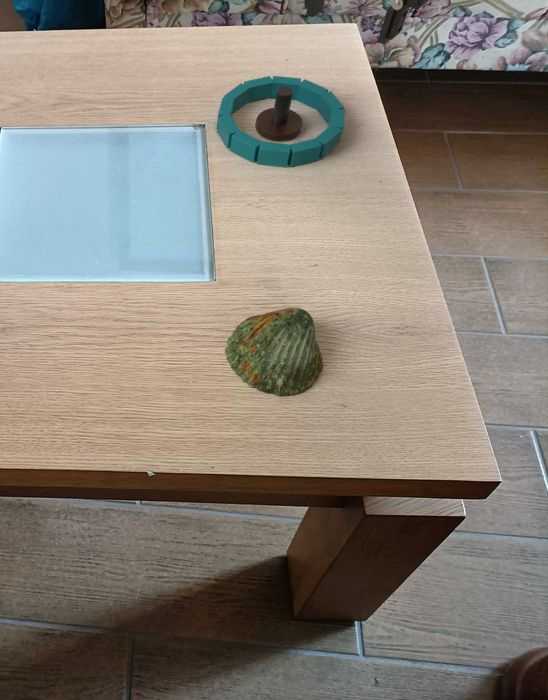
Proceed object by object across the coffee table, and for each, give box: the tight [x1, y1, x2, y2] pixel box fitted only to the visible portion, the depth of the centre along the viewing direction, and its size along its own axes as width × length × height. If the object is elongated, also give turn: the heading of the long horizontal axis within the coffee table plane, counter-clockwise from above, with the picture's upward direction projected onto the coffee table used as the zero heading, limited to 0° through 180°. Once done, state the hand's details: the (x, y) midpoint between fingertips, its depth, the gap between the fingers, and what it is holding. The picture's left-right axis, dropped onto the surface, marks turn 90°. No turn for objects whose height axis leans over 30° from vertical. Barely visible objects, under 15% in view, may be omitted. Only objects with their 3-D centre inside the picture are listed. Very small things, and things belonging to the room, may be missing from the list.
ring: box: [216, 75, 346, 168], centre depth 90 cm, size 16×16×2 cm
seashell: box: [224, 307, 324, 397], centre depth 68 cm, size 10×4×10 cm
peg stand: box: [255, 87, 303, 142], centre depth 88 cm, size 6×6×6 cm
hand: (348, 26), depth 71 cm, fingers open, 8 cm apart
